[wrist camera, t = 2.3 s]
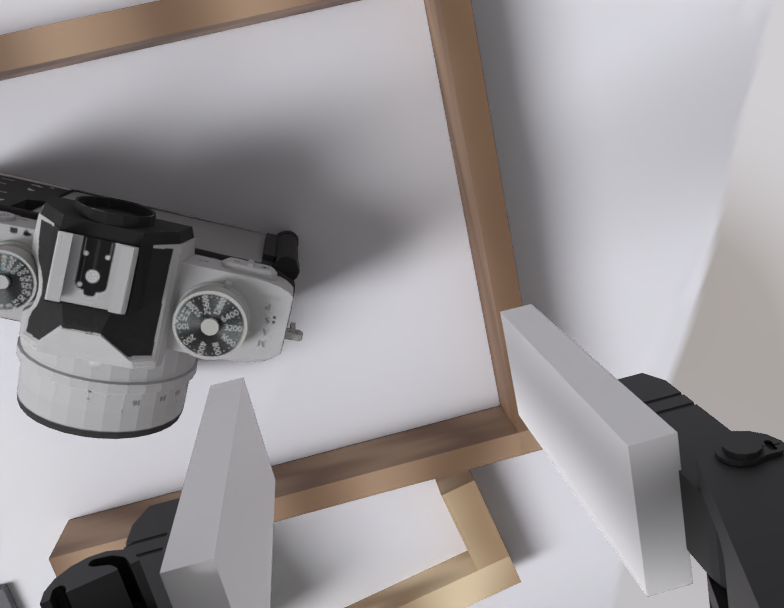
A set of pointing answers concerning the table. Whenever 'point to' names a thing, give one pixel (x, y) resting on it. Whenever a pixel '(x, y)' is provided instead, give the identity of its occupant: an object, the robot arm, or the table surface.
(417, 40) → the table surface
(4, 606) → the pad
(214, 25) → the brown wooden u frame
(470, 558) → the crook
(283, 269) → the camera
